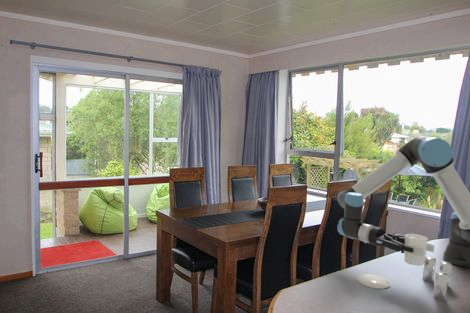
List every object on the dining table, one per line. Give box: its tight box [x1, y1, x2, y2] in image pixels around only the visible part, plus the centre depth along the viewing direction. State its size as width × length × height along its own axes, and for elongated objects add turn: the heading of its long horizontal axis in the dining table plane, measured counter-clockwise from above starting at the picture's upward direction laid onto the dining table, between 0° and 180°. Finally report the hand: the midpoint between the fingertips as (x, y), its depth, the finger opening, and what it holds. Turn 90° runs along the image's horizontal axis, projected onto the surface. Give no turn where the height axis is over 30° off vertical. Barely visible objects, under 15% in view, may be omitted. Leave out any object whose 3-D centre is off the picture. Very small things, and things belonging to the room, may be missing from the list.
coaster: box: [356, 273, 391, 290], centre depth 149 cm, size 12×12×1 cm
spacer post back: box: [438, 260, 453, 289], centre depth 148 cm, size 4×4×9 cm
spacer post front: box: [432, 271, 448, 302], centre depth 137 cm, size 4×4×9 cm
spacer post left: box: [422, 256, 437, 283], centre depth 152 cm, size 4×4×9 cm
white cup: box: [403, 233, 429, 267], centre depth 143 cm, size 8×8×10 cm
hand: (428, 250), depth 140 cm, fingers closed on white cup, 8 cm apart
